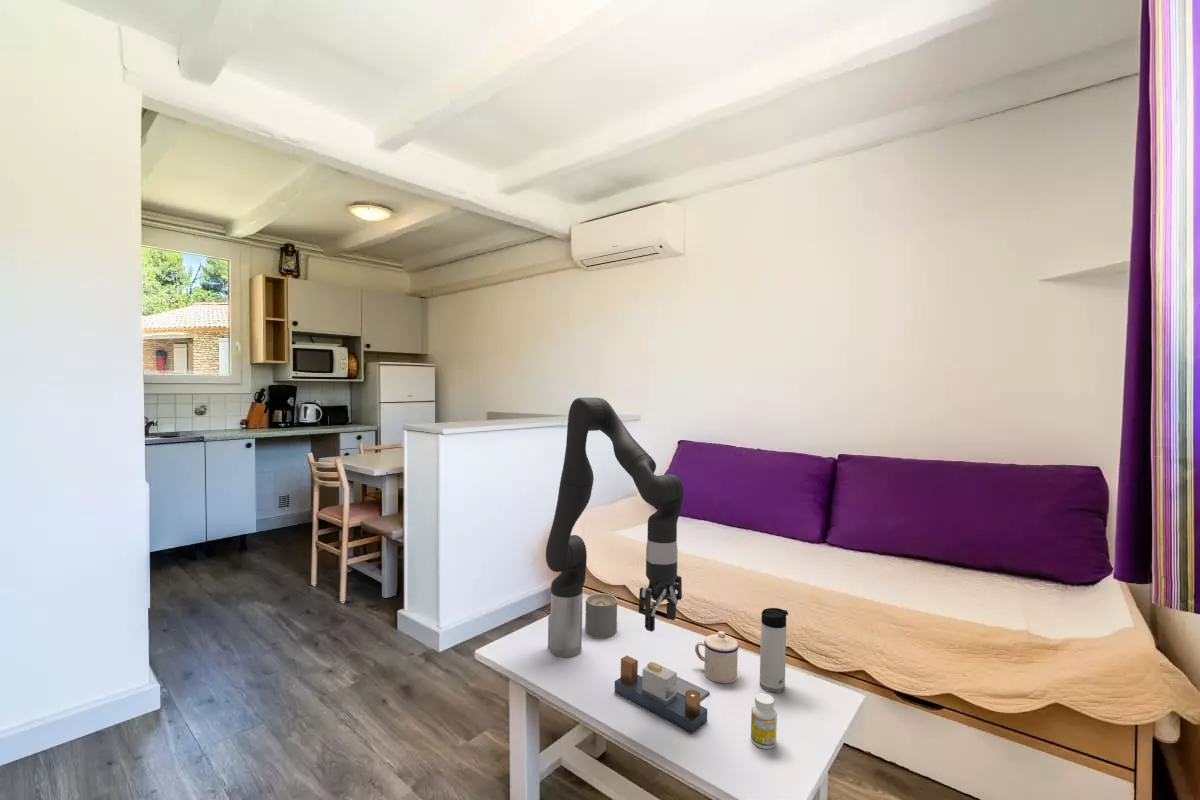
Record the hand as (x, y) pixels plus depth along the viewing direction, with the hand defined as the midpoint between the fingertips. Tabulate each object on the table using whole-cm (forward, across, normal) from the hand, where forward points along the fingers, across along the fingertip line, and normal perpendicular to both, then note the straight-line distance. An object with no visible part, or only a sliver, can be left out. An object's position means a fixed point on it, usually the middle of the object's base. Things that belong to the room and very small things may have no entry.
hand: (660, 624), depth 127 cm
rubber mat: (+20, -10, 0) cm, 23 cm away
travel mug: (+20, -28, +16) cm, 38 cm away
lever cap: (+16, 0, 0) cm, 16 cm away
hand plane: (+20, 0, 0) cm, 20 cm away
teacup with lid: (+20, -23, +2) cm, 31 cm away
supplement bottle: (+20, -6, +24) cm, 32 cm away
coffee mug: (+20, -21, -37) cm, 47 cm away
